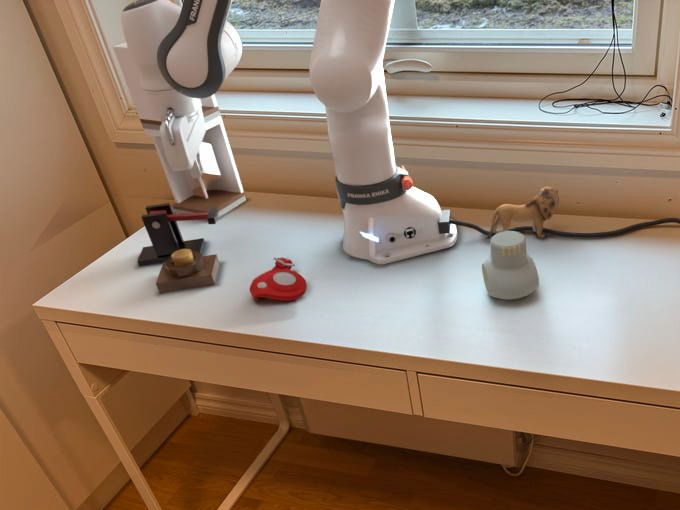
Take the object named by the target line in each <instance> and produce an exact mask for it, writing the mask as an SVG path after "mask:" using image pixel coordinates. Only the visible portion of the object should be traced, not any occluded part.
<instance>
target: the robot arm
mask: <svg viewBox="0 0 680 510" xmlns="http://www.w3.org/2000/svg"><path fill="white" fill-rule="evenodd" d="M233 2H234V1H233V0H183V3H182V6H181V5H178V4H177V3H175V2H173V1H171V0H137V1H133V2H131V3H130V4H127V6H126V5H125V7H124V8H123V9H122V12H121V13H120V20H121V28H122V33H123V36H124V39H125V42H126V43H127V47H128V50H129V53H130V56H131V59H132V61H133V63H134V65H135V66H136V68H137V69H138V72H139V74H140V83H141V87H142V90H143V93H144V96H145V99H146V102H147V105H148V108H149V110H150V113H151V115H152V116H154V117H157V118H160V119H161V122H162V124H161V126H160V136H161V140H162V144H163V147H164V150H165V154H166V157H167V160H168V163H169V166H170V167H171V169H172V170H173V171H180V170H187V169H189V171H190V174H191V177H192V178H199V177H201V175H202V172H203V167H202V164H201V157H200V151H199V148H200V145H201V143H202V140H203V137H204V135H205V132H206V128H205V121H204V116H203V112H202V102H201V98H207V97H210V96H212V95H213V94H214V95H215V94H216V93H217V92H218V91H219V90H220V88H221V87H222V85H223V83H224V82H225V80H226V79H227V78H228V77H229V76H230V75H231V74H232V72H233V71H234V70H235V69H236V67H237V66H238V65H239V63H240V61H241V60H242V57H243V53H244V45H243V41H242V37H241V35H240V33H239V31H238V29H237V28H236V27H235V26H234V25H233V24H232V23H231V22H230V21H229V20H228V18H229V14H230V11H231V7H232V5H233ZM394 4H395V0H320V3H319V9H318V15H317V20H316V26H315V32H314V36H313V42H312V48H311V55H310V59H309V60H310V61H309V67H308V73H309V79H310V80H309V81H310V84H311V87H312V89H313V92H314V94H315V96H316V98H317V100H319V101H320V103H321V104H322V105H323V106H324V107H325V108H324V109H325V115H326V122H327V123H326V124H327V125H326V126H327V136H328V142H329V146H330V151H331V156H332V161H333V165H334V170H335V177H334V178H335V183H334V185H335V190H336V195H337V199H338V204H339V205H340V208H341V209H342V219H343V220H342V221H343V241H342V249H343V251H344V252H345V253H346V254H348V255H349V256H351V257H354V258H357V259H361V260H367V261H370V262H372V263H374V264H376V265H385V264H390V263H394V262H398V261H402V260H406V259H410V258H414V257H418V256H421V255H426V254H429V253H433V252H438V251H441V250H444V249H445V250H446V249H448V248H451V247H453V246H454V245H455V244H456V243H457V240H458V231H457V230H458V229H457V226H460V227H466V228H469V229H473V230H474V231H477V232H479V233H480V234H482V235H484V236H487V235H488V234H489V232H490V230H486V229H484V228H482V227H481V226H479V225H477V224H474V223H472V222H467V221H463V220H457V219H452V213H451V209H442V208H441V205H440V204H439V202H438V201H437V200H436V199H435V197H434V196H433V195H431V194H430V193H428V192H425V191H423V190H421V189H419V188H417V187H415V186H414V183H413V182H414V181H413V179H412V177H411V176H409V172H408V171H407V170H406V168H405V166H404V165H401V167H400V166H398V165H397V164H396V157H395V151H394V145H393V137H392V132H391V124H390V115H389V107H388V98H387V97H388V96H387V90H386V83H385V81H386V80H385V74H384V73H385V72H384V65H383V62H384V61H383V60H384V56H385V51H386V47H387V46H386V45H387V40H388V35H389V30H390V25H391V22H392V21H391V20H392V16H393V10H394ZM668 223H669V224H670V223H675V224H679V225H680V218H678V217H665V218H660V219H655V220H651V221H644V222H643V221H642V222H639V223H634V224H632V225H629V226H625V227H623V228H619V229H615V230H609V231H599V232H598V231H597V232H575V231H574V232H572V231H571V232H570V231H561V230H556V229H551V228H547V227H543V229H542V233H544V234H545V233H546V234H549V235H553V236H559V237H566V238H584V239H585V238H587V239H589V238H604V237H612V236H617V235H622V234H624V233H628V232H630V231H633V230H636V229H641V228H642V229H643V228H646V227H652V226H659V225H663V224H668ZM532 227H533V225H521V226H516V227H511V228H509V230H508V231H516V232H525V231H526V232H528V231H529V232H530V231H531V232H532V231H533V230H534V229H533V228H532ZM497 231H498V233H499V232H503V230H497ZM533 232H534V231H533ZM495 234H496V233H493V232H492V235H491V237H493V236H494V235H495Z"/></svg>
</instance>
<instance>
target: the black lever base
mask: <svg viewBox="0 0 680 510" xmlns="http://www.w3.org/2000/svg"><path fill="white" fill-rule="evenodd" d="M156 210H166V212H167V213H166V212H161V213H154V214H150V211H156ZM145 211H146V212H147V213H146V214H142V215H141V220H142V222H143V225H144V227H145V230H146V233H147V235H148V237H149V240H150V242H151V245H148V246H142V249H141V251H140V253H139V256H138V258H137V261H136V262H137V264H138V266H139V267H146V266H152V265H158V264H163V262H166V261H167V260H168V259H169V258H171V255H172V254H173V253H174V252H175V251H177V250H181V249H190V250H191V251H194V252H199V253H200V254H201V255H202V256H203V253H204V250H205V246H206V241H205V238H203V237H201V238H195V239H189V240H184V238H183V236H182V233H181V229H180V227H179V225H178V221H169V219H168V216H167V215H168V214H174V210H173V207H172V205H171V203H170V202H166V203H160V204H153V205H146V206H145Z"/></svg>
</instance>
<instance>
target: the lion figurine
mask: <svg viewBox="0 0 680 510" xmlns="http://www.w3.org/2000/svg"><path fill="white" fill-rule="evenodd" d="M558 193H559V189H558V188H556V187H553V186H550V185H549V186H544V187H542V188H541V189H539V193H538V194H537V195H536V196H535V197H533V199H532V200H530V201H529V202H528V203H526V204H511V203H504V204H501V205H499V206H498V207H497V208H496V209H495V210H494V212H493V215H492V218H491V223H490V230H489V231H490V232H489V234H488V235H486V236H485V239H486V240H489V239H491V238H492V236H491V235H492V232H493V233H496V234H497V233H498V231H499V230H497V229H498V228H499V226H501V225H502V231H508V230H509V229H510V227H511V224H512V221H514V222H515V223H517V224H522V225H526V224H532V226H533V227H532V228H533V229H534V230H533V232H534V233H536V234H537V237H538V238H540V239H544V238H545V237H546V234H545V233H544V232H542V229H543V228H544V222H545V221H547V220H550V219H551V218H552V217H553V215H554V213H555V212H556V210H557V209H558V206H559V203H560V197H559V194H558Z"/></svg>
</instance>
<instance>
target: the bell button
mask: <svg viewBox="0 0 680 510" xmlns="http://www.w3.org/2000/svg"><path fill="white" fill-rule="evenodd" d="M171 257H172V260H173V262H174V265H175V266H182V265H186V264H189V263H191V262H192V261H194V257H193V254H192V252H191V250H190V249H181V250H177V251H175V252H174V253H173V254H172V255H171Z"/></svg>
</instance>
